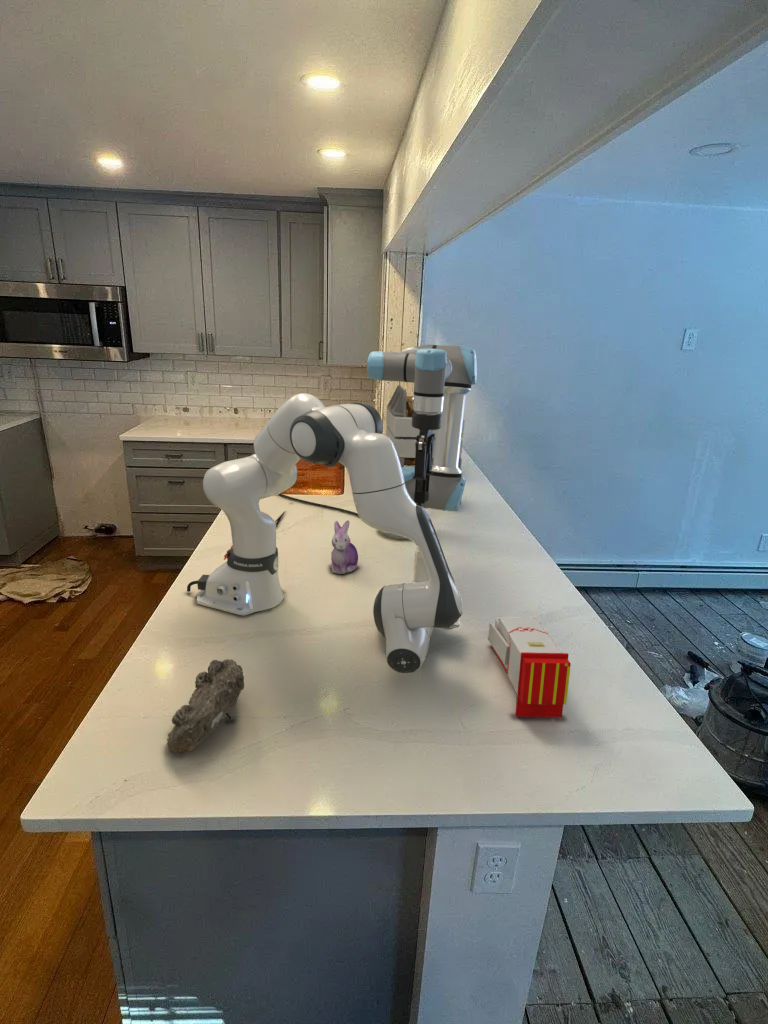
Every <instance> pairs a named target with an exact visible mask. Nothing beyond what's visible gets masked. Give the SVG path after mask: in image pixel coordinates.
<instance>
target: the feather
mask: <svg viewBox="0 0 768 1024" xmlns="http://www.w3.org/2000/svg"><path fill="white" fill-rule="evenodd" d="M285 512H286V510H285V511H283V513H281V515H279V516H278V518H276V520H274V521H275V524H276V528H277V527H278V525H279V523H280V521H281V519H282V517H283V516H284V514H285Z"/></svg>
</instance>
